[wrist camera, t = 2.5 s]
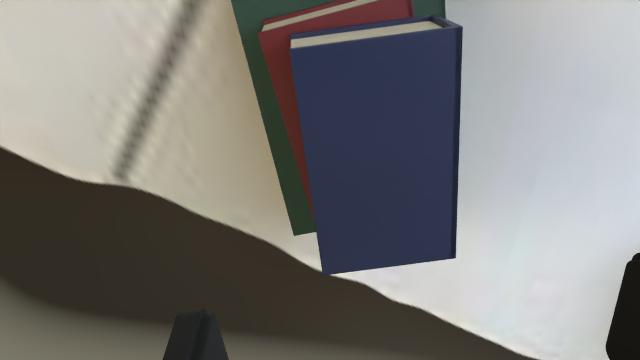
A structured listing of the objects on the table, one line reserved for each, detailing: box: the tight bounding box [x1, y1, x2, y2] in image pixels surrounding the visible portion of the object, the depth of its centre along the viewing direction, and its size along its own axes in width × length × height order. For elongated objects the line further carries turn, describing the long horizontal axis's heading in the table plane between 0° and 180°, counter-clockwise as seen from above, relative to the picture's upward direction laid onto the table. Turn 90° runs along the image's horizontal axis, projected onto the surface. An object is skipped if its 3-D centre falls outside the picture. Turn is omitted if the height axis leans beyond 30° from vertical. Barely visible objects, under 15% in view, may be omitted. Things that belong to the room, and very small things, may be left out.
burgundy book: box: [258, 0, 414, 222], centre depth 24 cm, size 7×13×4 cm, turn 14°
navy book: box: [289, 14, 463, 275], centre depth 21 cm, size 7×11×4 cm, turn 7°
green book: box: [231, 0, 446, 236], centre depth 27 cm, size 11×16×4 cm
